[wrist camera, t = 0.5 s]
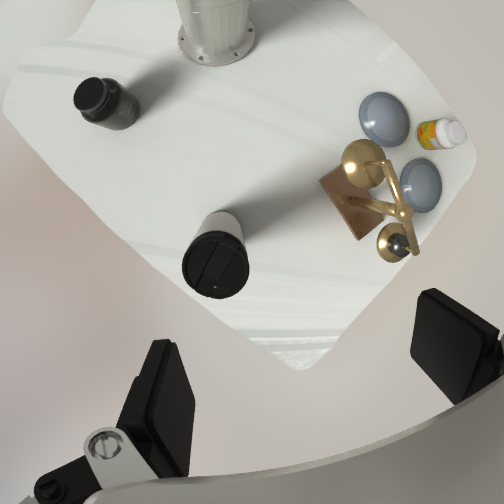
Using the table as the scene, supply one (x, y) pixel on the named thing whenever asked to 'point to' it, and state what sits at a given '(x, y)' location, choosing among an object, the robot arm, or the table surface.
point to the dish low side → (421, 185)
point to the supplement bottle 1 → (106, 103)
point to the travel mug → (217, 257)
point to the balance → (363, 206)
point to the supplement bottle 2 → (440, 134)
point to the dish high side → (384, 119)
